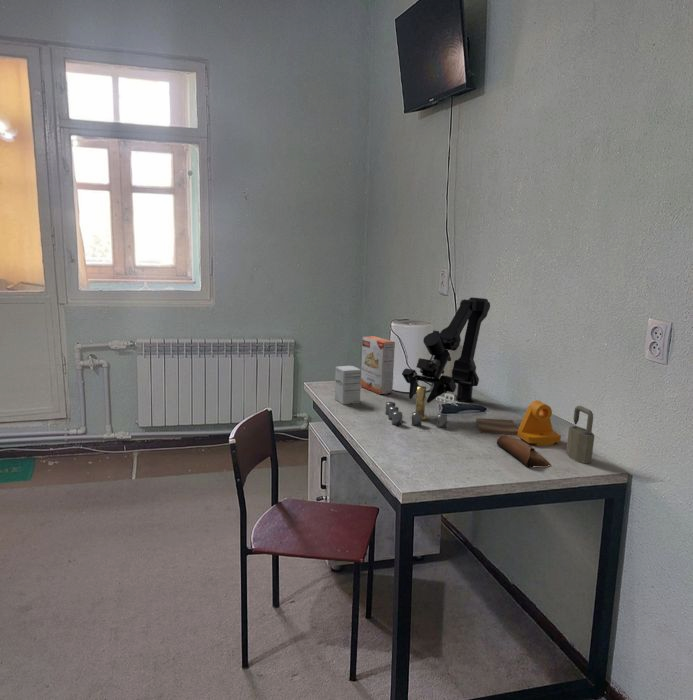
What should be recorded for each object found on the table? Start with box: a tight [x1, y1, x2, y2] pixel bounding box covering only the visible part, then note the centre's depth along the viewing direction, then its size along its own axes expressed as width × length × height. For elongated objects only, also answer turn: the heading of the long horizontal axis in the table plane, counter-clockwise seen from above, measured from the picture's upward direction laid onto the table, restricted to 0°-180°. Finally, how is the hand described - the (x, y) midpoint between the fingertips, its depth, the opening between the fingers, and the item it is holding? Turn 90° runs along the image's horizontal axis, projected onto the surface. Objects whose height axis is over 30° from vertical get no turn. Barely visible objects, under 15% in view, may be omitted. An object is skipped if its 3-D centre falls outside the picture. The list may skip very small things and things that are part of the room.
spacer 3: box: [391, 411, 403, 427], centre depth 192 cm, size 3×3×4 cm
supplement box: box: [334, 365, 362, 405], centre depth 216 cm, size 7×7×13 cm
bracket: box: [517, 400, 562, 447], centre depth 180 cm, size 11×7×12 cm, turn 103°
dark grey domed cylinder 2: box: [388, 405, 400, 421], centre depth 198 cm, size 3×3×4 cm
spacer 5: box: [436, 413, 448, 429], centre depth 191 cm, size 3×3×4 cm
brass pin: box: [415, 385, 428, 422], centre depth 199 cm, size 5×5×11 cm
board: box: [475, 417, 519, 436], centre depth 193 cm, size 12×12×1 cm
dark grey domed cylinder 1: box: [385, 401, 396, 416], centre depth 203 cm, size 3×3×4 cm
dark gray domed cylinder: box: [411, 411, 423, 428], centre depth 192 cm, size 3×3×4 cm
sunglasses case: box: [496, 435, 552, 468], centre depth 168 cm, size 18×7×7 cm, turn 13°
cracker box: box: [360, 335, 396, 395], centre depth 232 cm, size 14×6×21 cm, turn 33°
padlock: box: [565, 405, 595, 464], centre depth 167 cm, size 4×8×15 cm, turn 14°
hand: (418, 400), depth 198 cm, fingers open, 7 cm apart
